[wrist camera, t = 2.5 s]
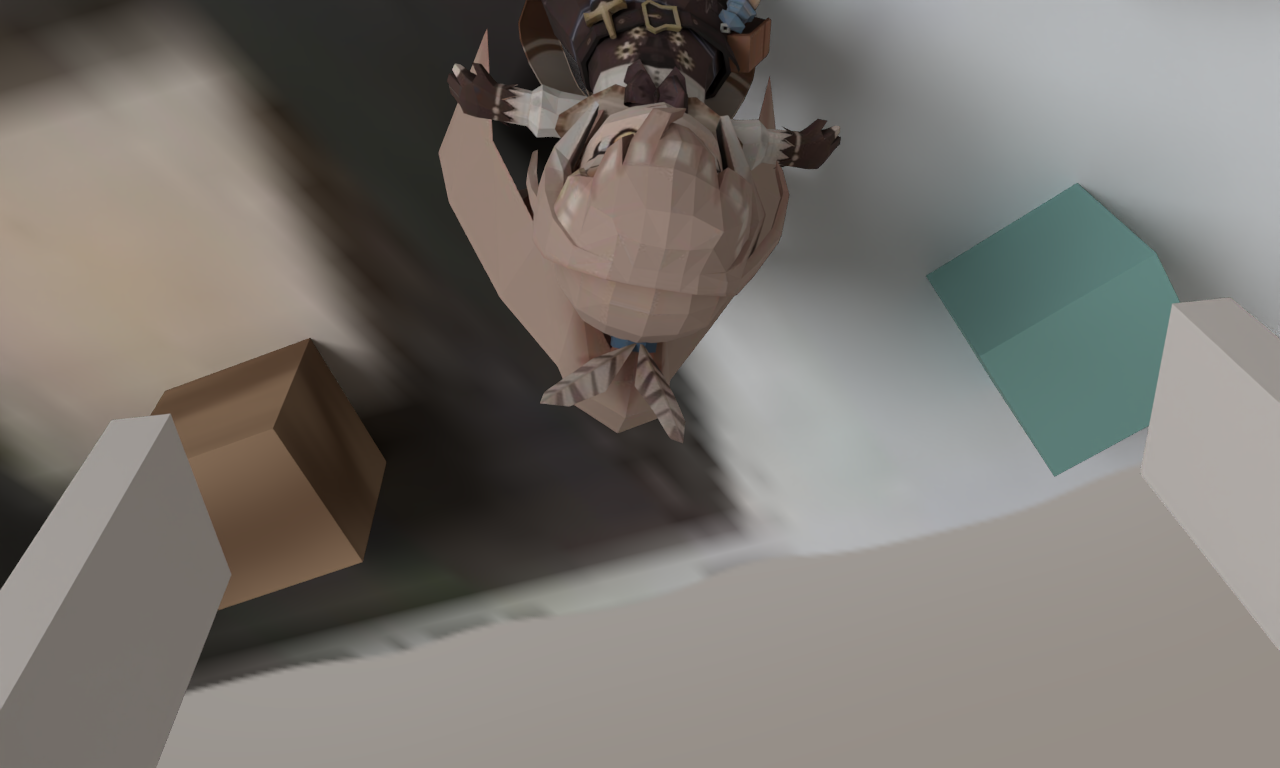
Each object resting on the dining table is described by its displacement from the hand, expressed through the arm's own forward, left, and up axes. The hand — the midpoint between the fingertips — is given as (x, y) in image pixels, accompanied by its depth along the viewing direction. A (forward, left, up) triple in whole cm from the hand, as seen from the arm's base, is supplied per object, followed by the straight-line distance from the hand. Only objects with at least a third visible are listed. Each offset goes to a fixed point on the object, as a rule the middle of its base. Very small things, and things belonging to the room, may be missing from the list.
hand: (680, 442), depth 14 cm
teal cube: (+8, +12, -17) cm, 22 cm away
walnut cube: (+10, -12, -17) cm, 23 cm away
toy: (0, 0, -17) cm, 17 cm away
